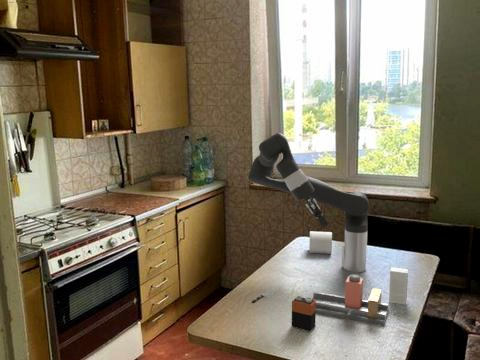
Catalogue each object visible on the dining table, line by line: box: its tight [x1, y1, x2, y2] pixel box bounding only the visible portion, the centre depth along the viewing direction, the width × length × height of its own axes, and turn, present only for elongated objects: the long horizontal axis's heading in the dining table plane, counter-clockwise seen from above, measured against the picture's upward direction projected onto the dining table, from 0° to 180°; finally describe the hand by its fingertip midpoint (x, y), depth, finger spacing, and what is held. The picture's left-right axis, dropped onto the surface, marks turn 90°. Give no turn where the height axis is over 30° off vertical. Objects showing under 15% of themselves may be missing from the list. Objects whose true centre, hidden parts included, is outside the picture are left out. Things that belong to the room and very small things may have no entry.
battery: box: [291, 295, 317, 332], centre depth 150 cm, size 4×7×10 cm, turn 60°
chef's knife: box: [251, 286, 278, 304], centre depth 175 cm, size 19×1×3 cm
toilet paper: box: [308, 230, 333, 255], centre depth 218 cm, size 10×10×10 cm
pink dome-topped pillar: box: [344, 274, 364, 309], centre depth 159 cm, size 5×5×11 cm
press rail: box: [311, 288, 390, 326], centre depth 161 cm, size 26×12×8 cm, turn 66°
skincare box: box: [388, 266, 409, 305], centre depth 167 cm, size 6×4×12 cm
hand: (325, 225), depth 164 cm, fingers closed
